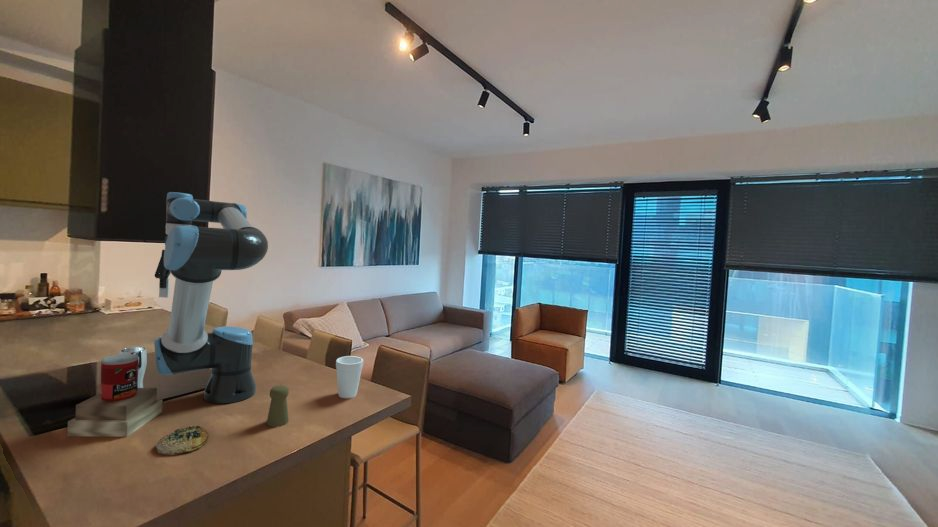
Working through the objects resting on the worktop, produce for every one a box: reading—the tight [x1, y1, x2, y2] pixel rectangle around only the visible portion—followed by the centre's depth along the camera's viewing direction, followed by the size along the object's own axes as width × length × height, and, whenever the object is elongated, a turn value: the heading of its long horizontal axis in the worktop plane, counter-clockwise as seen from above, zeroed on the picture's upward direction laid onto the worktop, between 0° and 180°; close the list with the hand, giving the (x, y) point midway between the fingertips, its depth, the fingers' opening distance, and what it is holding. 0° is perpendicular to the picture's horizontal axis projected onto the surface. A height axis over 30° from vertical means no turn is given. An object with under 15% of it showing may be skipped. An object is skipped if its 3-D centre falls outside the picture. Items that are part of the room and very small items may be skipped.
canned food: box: [100, 353, 139, 401], centre depth 105 cm, size 8×8×11 cm
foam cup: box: [335, 355, 364, 399], centre depth 137 cm, size 10×9×13 cm
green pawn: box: [266, 384, 290, 428], centre depth 114 cm, size 6×6×11 cm
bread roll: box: [155, 425, 209, 456], centre depth 99 cm, size 11×11×5 cm
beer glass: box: [119, 346, 148, 388], centre depth 124 cm, size 7×7×15 cm
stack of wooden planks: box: [67, 387, 164, 438], centre depth 106 cm, size 14×14×8 cm
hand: (176, 294), depth 136 cm, fingers open, 13 cm apart
